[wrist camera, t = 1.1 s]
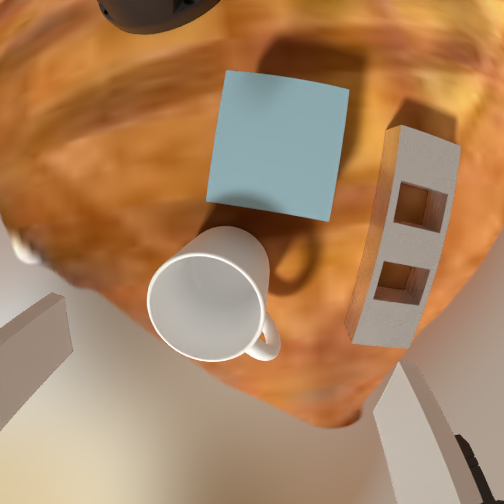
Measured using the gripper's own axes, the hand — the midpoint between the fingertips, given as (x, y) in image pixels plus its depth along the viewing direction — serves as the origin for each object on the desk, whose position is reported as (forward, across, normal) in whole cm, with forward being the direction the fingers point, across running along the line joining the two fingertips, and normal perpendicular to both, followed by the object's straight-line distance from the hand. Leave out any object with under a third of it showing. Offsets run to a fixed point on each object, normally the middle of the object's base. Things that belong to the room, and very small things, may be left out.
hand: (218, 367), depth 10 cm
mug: (+20, -1, -4) cm, 20 cm away
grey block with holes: (+19, +14, +3) cm, 24 cm away
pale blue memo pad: (+20, 0, +8) cm, 21 cm away
